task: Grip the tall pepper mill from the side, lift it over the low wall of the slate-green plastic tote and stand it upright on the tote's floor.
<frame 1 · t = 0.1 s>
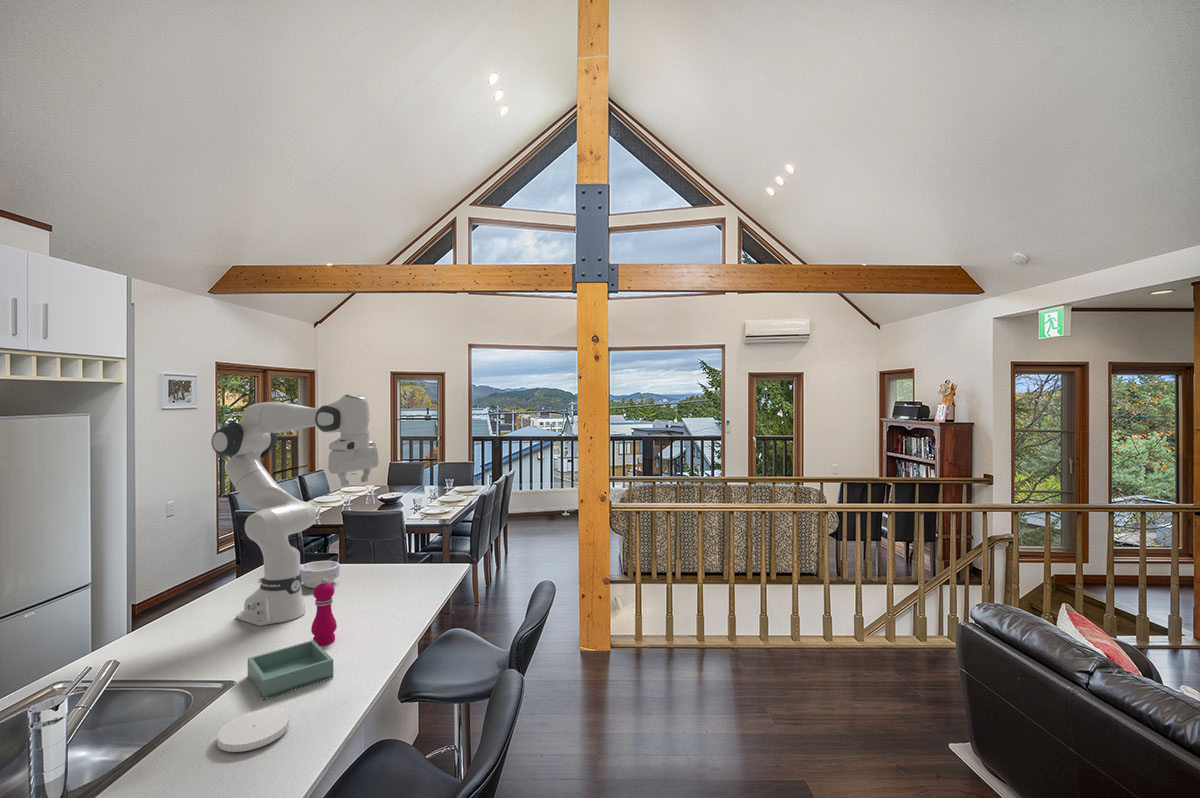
hand: (354, 483, 190), 48 cm above the kitchen island, tool pointing down, fingers open, 8 cm apart
white bowl: (319, 585, 233), on the kitchen island
pepper mill: (324, 642, 178), on the kitchen island
plastic lid: (254, 738, 129), on the kitchen island
tote: (290, 676, 156), on the kitchen island
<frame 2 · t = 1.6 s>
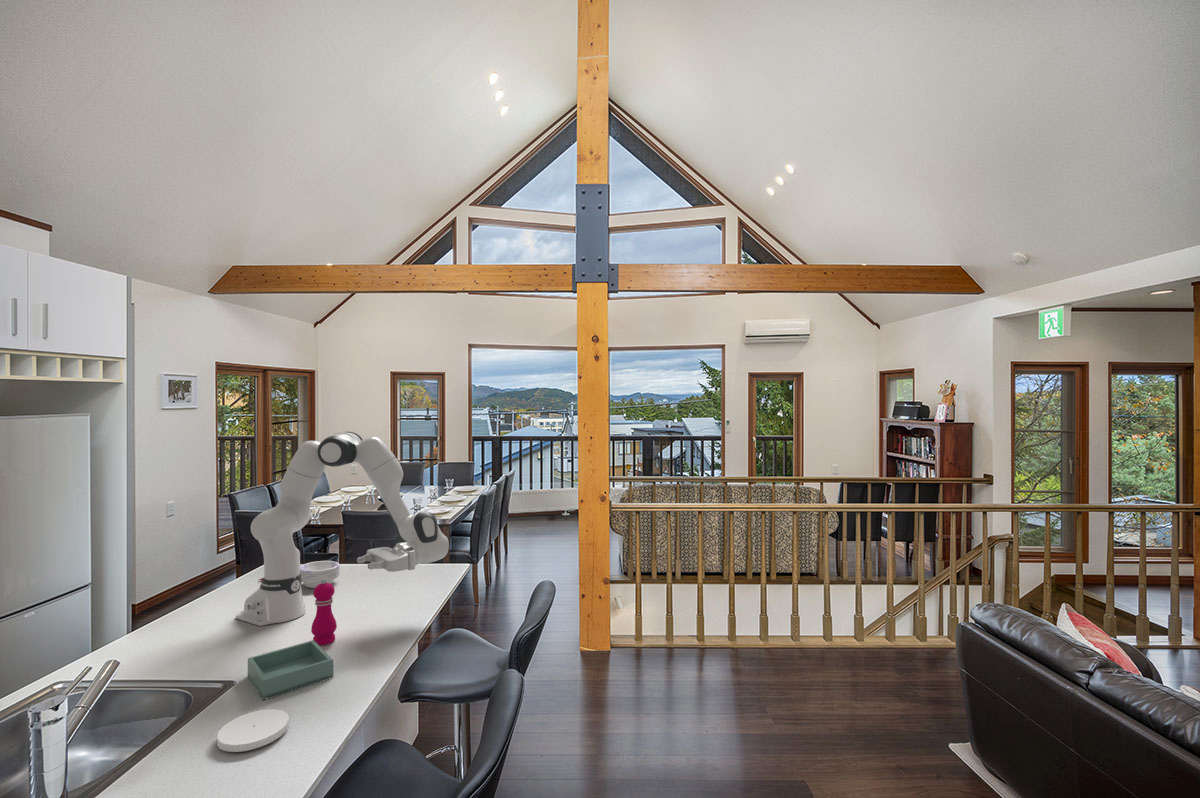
hand: (363, 563, 187), 22 cm above the kitchen island, tool horizontal, fingers open, 8 cm apart
nothing on the kitchen island moved.
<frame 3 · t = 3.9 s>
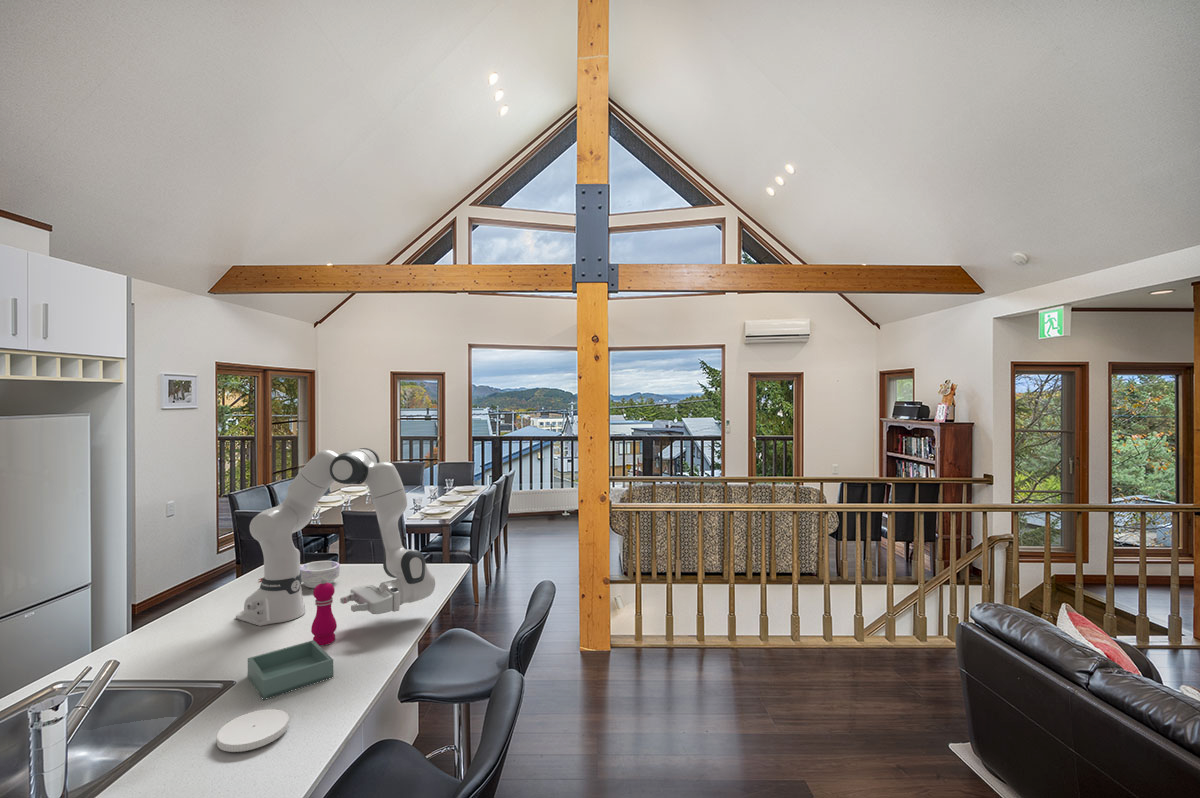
hand: (346, 604, 183), 10 cm above the kitchen island, tool horizontal, fingers open, 8 cm apart
nothing on the kitchen island moved.
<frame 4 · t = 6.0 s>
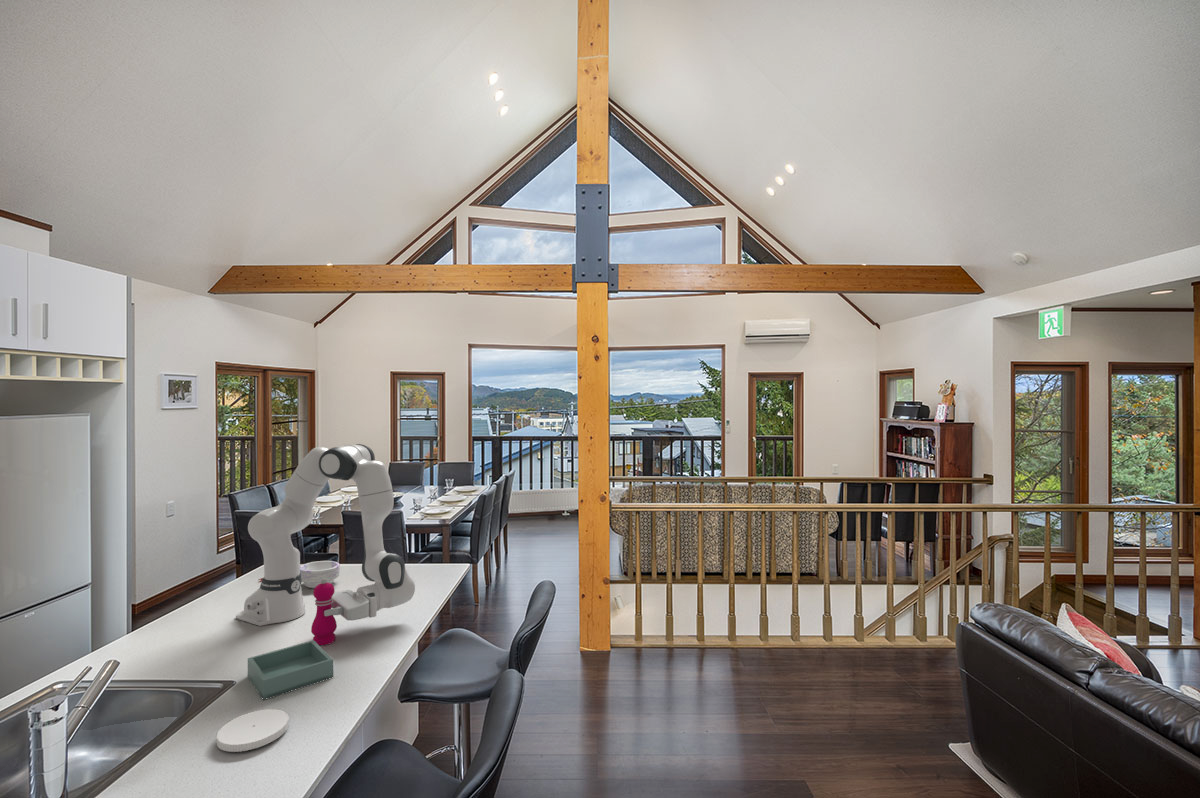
hand: (321, 610, 178), 10 cm above the kitchen island, tool horizontal, fingers closed on pepper mill, 4 cm apart
pepper mill: (324, 642, 178), on the kitchen island, touching gripper
everything else where it was.
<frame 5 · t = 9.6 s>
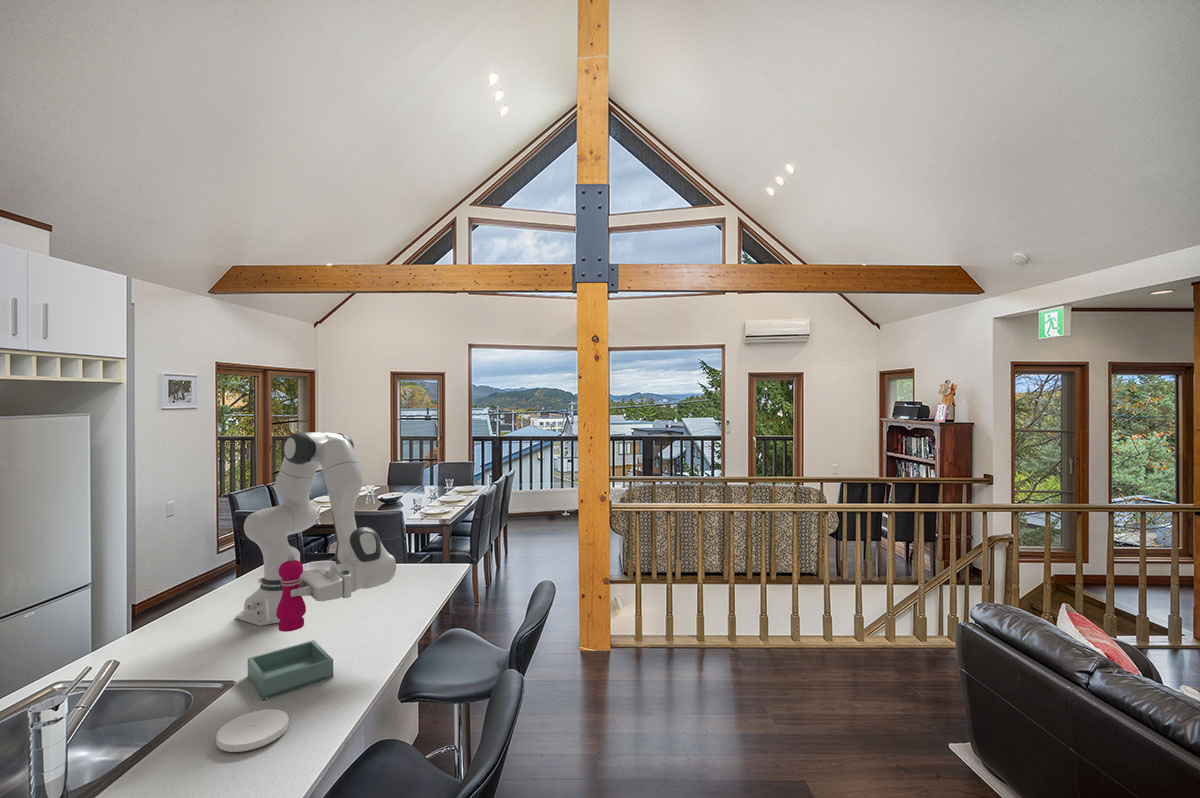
hand: (287, 590, 155), 24 cm above the kitchen island, tool horizontal, fingers closed on pepper mill, 4 cm apart
pepper mill: (291, 627, 156), point 13 cm above the kitchen island, touching gripper
everything else where it was.
when the fingers open (11 cm above the kitchen island, at t = 13.1 s): pepper mill stays where it is, resting on tote.
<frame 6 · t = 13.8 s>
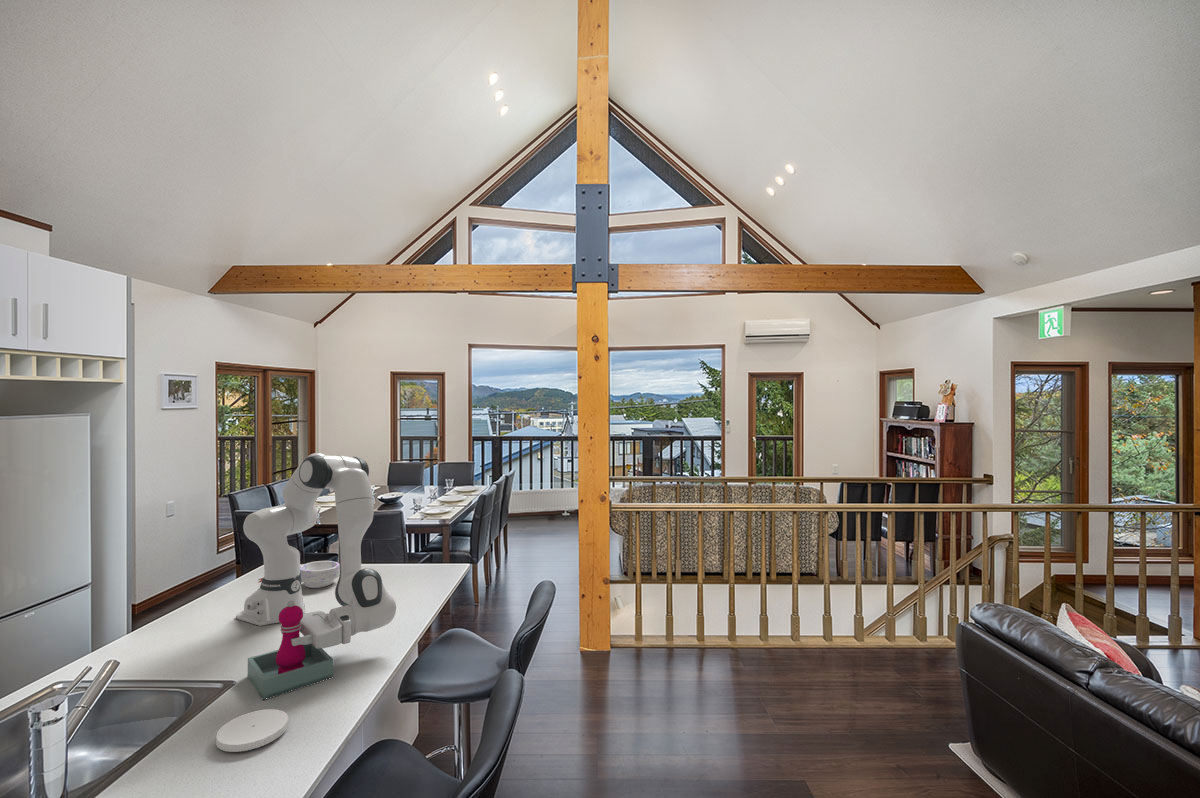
hand: (286, 636, 155), 11 cm above the kitchen island, tool horizontal, fingers open, 8 cm apart
pepper mill: (290, 673, 156), point 1 cm above the kitchen island, touching tote
everything else where it was.
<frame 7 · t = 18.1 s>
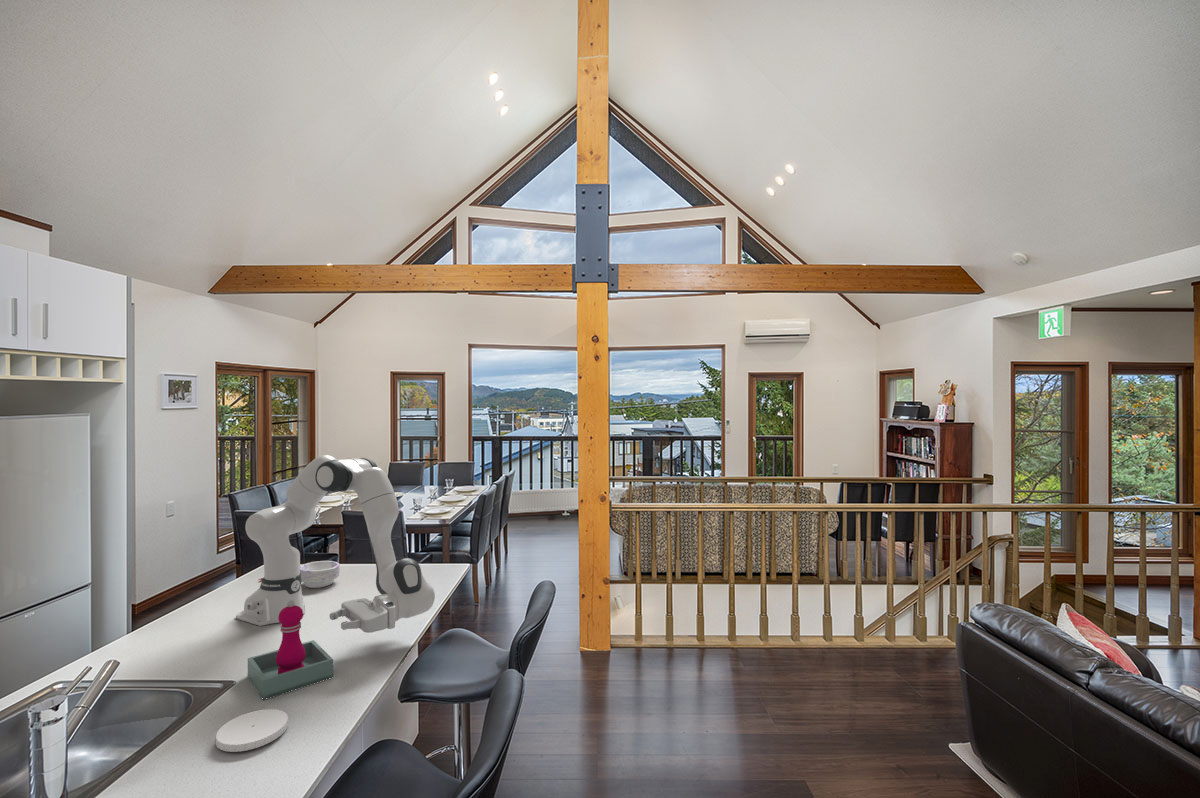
hand: (335, 621, 164), 12 cm above the kitchen island, tool horizontal, fingers open, 8 cm apart
nothing on the kitchen island moved.
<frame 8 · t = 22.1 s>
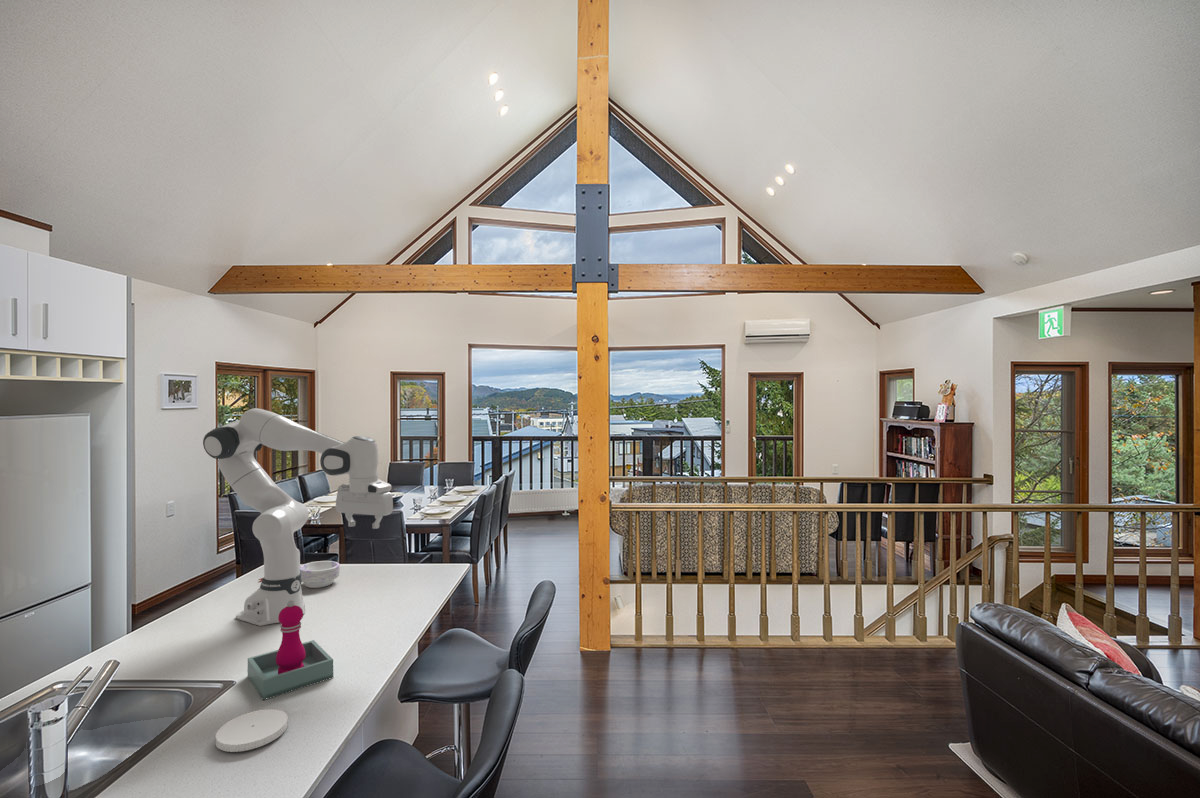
hand: (363, 527, 187), 34 cm above the kitchen island, tool pointing down, fingers open, 8 cm apart
nothing on the kitchen island moved.
at the end: pepper mill inside the target area on the tote (0.1 cm from its centre), point 0.8 cm above the tote's base; pepper mill tilted 0°; the gripper is holding nothing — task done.
